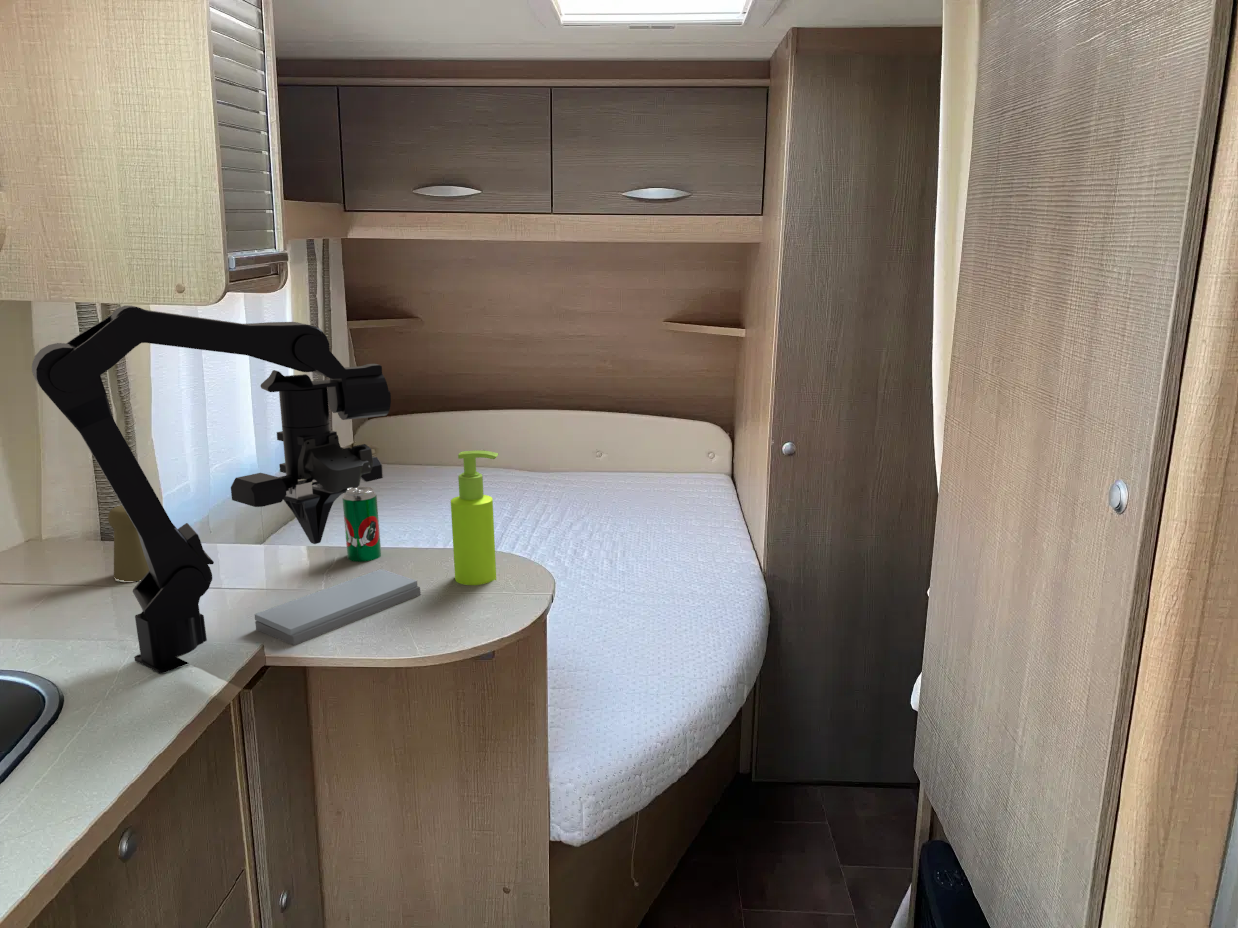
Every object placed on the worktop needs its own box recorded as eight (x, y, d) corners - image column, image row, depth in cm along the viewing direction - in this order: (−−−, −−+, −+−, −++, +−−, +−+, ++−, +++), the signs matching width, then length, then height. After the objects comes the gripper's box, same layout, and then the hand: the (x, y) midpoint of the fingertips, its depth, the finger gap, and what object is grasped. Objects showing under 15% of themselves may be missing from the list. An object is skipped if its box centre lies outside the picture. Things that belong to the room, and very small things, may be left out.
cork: (114, 585, 137) (103, 513, 135) (113, 573, 142) (102, 503, 140) (159, 577, 140) (150, 507, 137) (157, 566, 145) (147, 498, 143)
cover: (290, 635, 113) (290, 629, 112) (255, 619, 117) (254, 614, 117) (417, 586, 128) (417, 580, 128) (381, 573, 132) (381, 568, 132)
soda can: (386, 559, 147) (380, 485, 144) (375, 570, 142) (369, 494, 139) (355, 558, 147) (349, 485, 144) (343, 569, 142) (336, 494, 139)
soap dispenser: (500, 594, 132) (493, 456, 127) (451, 594, 132) (443, 456, 127) (506, 579, 137) (500, 447, 133) (460, 579, 138) (452, 447, 133)
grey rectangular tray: (295, 655, 113) (293, 636, 112) (257, 639, 118) (255, 621, 117) (421, 603, 128) (419, 586, 128) (383, 591, 133) (381, 575, 133)
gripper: (275, 444, 105) (287, 575, 108) (406, 420, 119) (413, 537, 123) (222, 432, 111) (235, 556, 115) (352, 411, 126) (360, 522, 129)
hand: (315, 543), depth 120 cm, fingers closed
